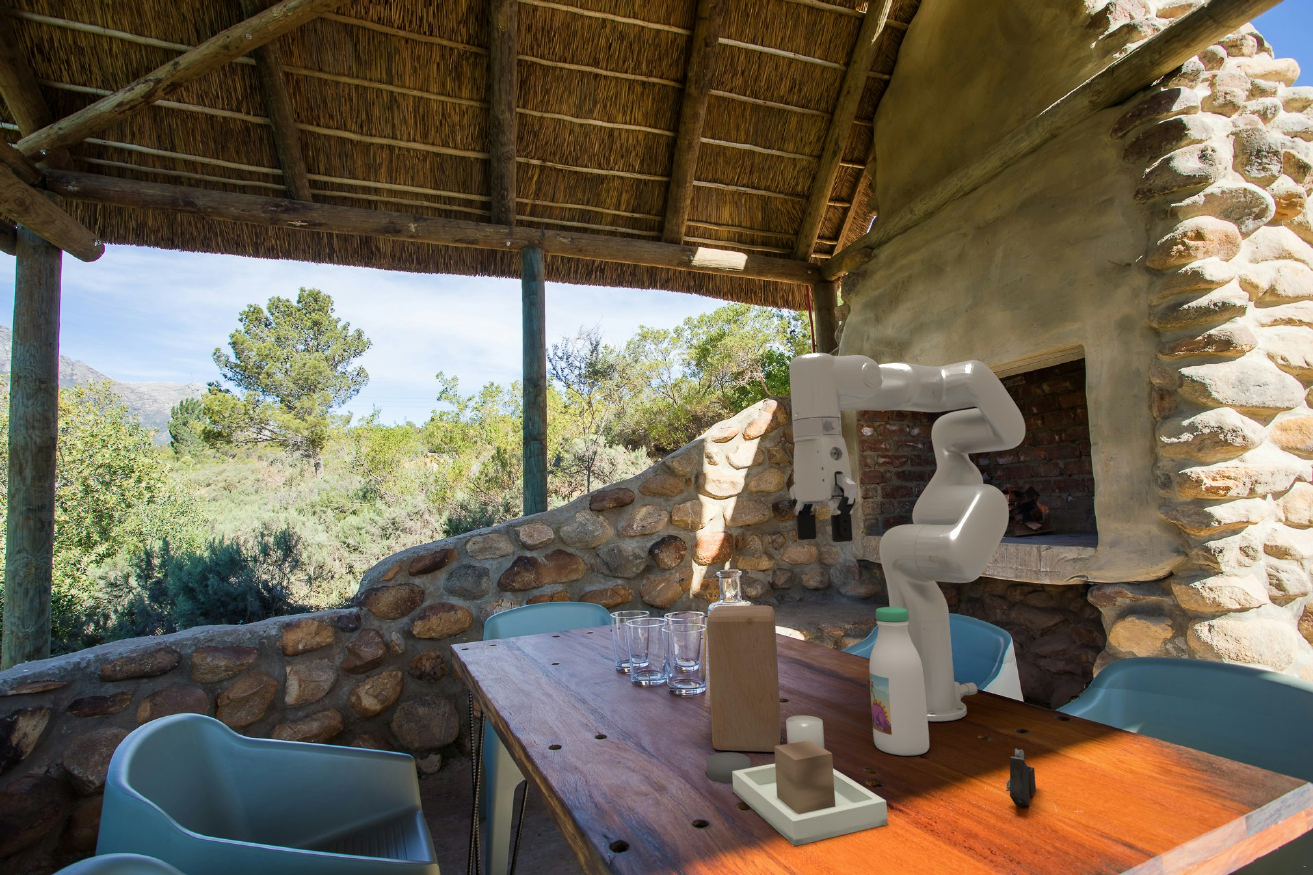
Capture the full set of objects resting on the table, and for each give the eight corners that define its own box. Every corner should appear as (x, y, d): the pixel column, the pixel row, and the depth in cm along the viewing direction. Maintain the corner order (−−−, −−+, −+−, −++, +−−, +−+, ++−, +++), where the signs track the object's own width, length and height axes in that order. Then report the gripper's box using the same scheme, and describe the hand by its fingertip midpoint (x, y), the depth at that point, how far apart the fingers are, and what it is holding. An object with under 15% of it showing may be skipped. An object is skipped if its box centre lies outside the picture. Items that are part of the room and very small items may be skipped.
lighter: (1015, 812, 82) (1015, 764, 85) (1036, 817, 81) (1035, 767, 84) (1002, 794, 77) (1003, 743, 80) (1024, 798, 76) (1024, 746, 79)
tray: (814, 775, 90) (813, 756, 90) (887, 824, 75) (886, 800, 76) (733, 791, 86) (732, 771, 86) (794, 845, 71) (793, 821, 72)
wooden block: (780, 754, 98) (772, 614, 100) (711, 752, 100) (705, 614, 102) (781, 731, 107) (774, 604, 109) (719, 729, 109) (713, 604, 111)
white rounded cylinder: (812, 756, 96) (810, 713, 97) (832, 768, 92) (829, 723, 92) (782, 762, 95) (779, 718, 95) (800, 775, 90) (798, 728, 91)
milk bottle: (928, 740, 101) (917, 604, 103) (931, 759, 94) (920, 613, 96) (874, 736, 103) (865, 604, 105) (873, 754, 96) (863, 612, 98)
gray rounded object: (739, 764, 95) (738, 749, 95) (758, 779, 90) (758, 764, 90) (700, 771, 93) (699, 756, 93) (717, 787, 88) (717, 771, 88)
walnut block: (812, 789, 84) (809, 740, 84) (835, 806, 79) (832, 753, 80) (777, 796, 82) (774, 746, 83) (798, 814, 77) (795, 759, 78)
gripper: (871, 425, 100) (879, 541, 98) (808, 437, 116) (814, 537, 114) (827, 424, 97) (835, 543, 95) (769, 437, 113) (775, 539, 112)
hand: (824, 540), depth 105 cm, fingers open, 9 cm apart
